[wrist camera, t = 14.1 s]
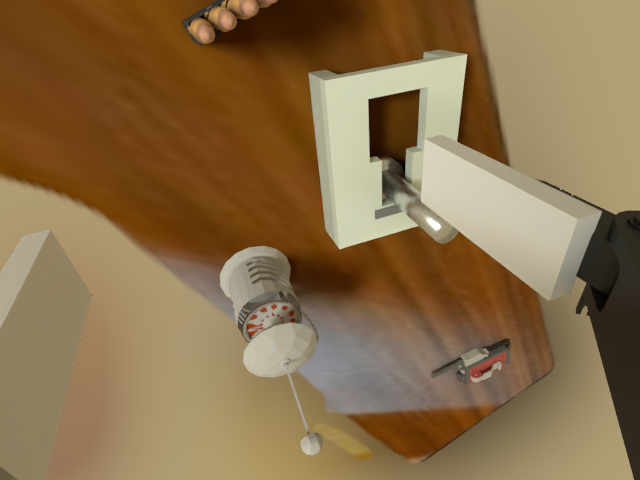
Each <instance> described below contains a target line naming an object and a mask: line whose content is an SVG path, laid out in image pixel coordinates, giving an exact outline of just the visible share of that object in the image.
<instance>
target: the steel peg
mask: <svg viewBox="0 0 640 480" xmlns="http://www.w3.org/2000/svg"><path fill="white" fill-rule="evenodd" d="M376 157H378V158H379V159H380V160H382V200H383V199H386V198H388V199H389V200H390V201H391V202H392V203H393V204H394V205H396V206H397V207H398V208H399V209H400V210H401V211H402V212H404V213H405V214H406V215H407V216H408V217H409V218H410V219H412V220H413V221H414V222H415V223H416V224H417V225H419V226H420V227H421V228H422V229H423V230H424V231H425V232H427V233H428V234H429V235H430V236H431V237H432V238H433V239H435V240H436V241H437V242H438V243H447V242H449V241H451V240H452V239H453V238H454V237H455V236H456V235H457V234H458V232H459V231H458V230H457V229H456V228H454V227H453V226H452V225H450V224H449V223H448V222H447V221H445V220H444V219H443V218H441V217H440V216H439V215H438V214H436V213H435V212H434V211H433V210H431V209H430V208H429V207H427V206H426V205H425V204H424V203H422V202H421V191H419V190H418V189H416V188H415V187H414V186H412V185H411V184H410V183H408V182H407V181H406V180H404V170H403V167H402V166H401V164H400V163H398V162H397V161H395V160H394V159H392V158H391V157H389V156H387V155H377V156H376Z"/></svg>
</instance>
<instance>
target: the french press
mask: <svg viewBox="0 0 640 480" xmlns="http://www.w3.org/2000/svg"><path fill="white" fill-rule="evenodd" d="M290 269H291V267H290V264H289V262H288V259H287V257H286V256H285V255H283V254H282V253H281V252H280V251H279V250H277V249H274V248H270V247H266V246H259V247H249V248H247V249H245V250H243V251H240V252H238V253H236V254H235V255H234V256H233V257H232V258H230V259H229V260H228V261H227V262H226V263H225V265H224V267H223V270H222V272H221V274H220V286H221V288H222V290H223V291H224V293H225V294H226V296H227V297H229V298H231V300H232V304H233V309H234V308H235V309H234V311H235V313H234V314H235V318H236V322H237V326H238V328H239V330H240V331H241V333H242V335H243V337H244V338H245V340H246V342H248V343H249V344H248V345H247V347H246V349H245V351H244V364H245V366H246V368H247V369H248V371H249V372H251V373H253V374H255V375H257V376H260V377H277V376H281V375H286V374H288V377H289V380H290V383H291V386H292V389H293V392H294V395H295V398H296V401H297V404H298V408H299V411H300V413H301V416H302V420H303V423H304V426H305V429H306V432H307V436H306V437H305V438H304V439H302V441H301V447H302V450H303V451H304V452H305V453H306V454H307V455H315V454H317V453H319V452H320V450H321V448H322V444H323V441H322V437H321V435H320V434H318V433H313V434H310V433H309V430H308V427H307V424H306V421H305V418H304V415H303V412H302V409H301V406H300V403H299V400H298V397H297V394H296V391H295V388H294V385H293V382H292V379H291V376H290V373H292V372H294V371H296V370H297V369H299V368H300V367H301V366H303V365H304V364H305V363H306V362H307V361H308V360H309V359H310V358H311V356H312V354H313V353H314V351H315V349H316V344H317V343H318V339H319V336H318V333H317V331H316V328H315V326H314V324H313V323H312V321H311V320H310V319H309V317H308V316H307V315H306V314H305V313H304V312H303V311H302V310H301V307H300V304H299V301H298V299H297V297H296V295H295V292H294V290H293V289H292V286H291V283H290V282H289V278H290ZM280 291H282V292H283V294H284V296H285V299H286V301H287V302H286V301H281V298H280V296H279V292H280ZM242 308H243V309H246V310H249V311H251V312H250V313H248V312H244V311H243V310H242ZM240 311H241V312H242V313H243V314H244V315H247V316H246V318H245V317H244V316H243V315H242V314H241V313H240ZM300 312H301V313H302V314H303V315H304V316H305V317H306V318H307V319H308V320H309V322H310V323H311V325H312V326H313V328H314V331H315V333H316V336H315V334H314V332H313V330H311V329H310V328H308V327H307V326H305V325H303V324H301V319H302V315H301V313H300ZM238 315H240V316H241V317H242V318H243V319H244V321H243V320H241V318H240V317H239V316H238ZM238 319H239V320H240V321H241V322H242V323H243V324H241V323H240V322H239V320H238Z"/></svg>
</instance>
